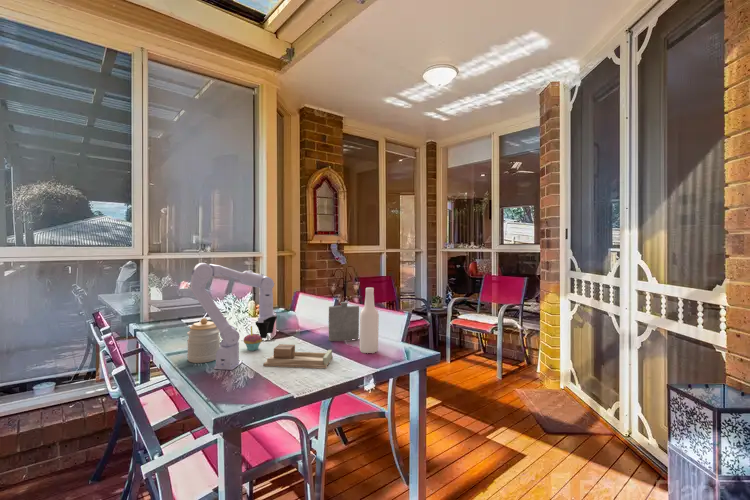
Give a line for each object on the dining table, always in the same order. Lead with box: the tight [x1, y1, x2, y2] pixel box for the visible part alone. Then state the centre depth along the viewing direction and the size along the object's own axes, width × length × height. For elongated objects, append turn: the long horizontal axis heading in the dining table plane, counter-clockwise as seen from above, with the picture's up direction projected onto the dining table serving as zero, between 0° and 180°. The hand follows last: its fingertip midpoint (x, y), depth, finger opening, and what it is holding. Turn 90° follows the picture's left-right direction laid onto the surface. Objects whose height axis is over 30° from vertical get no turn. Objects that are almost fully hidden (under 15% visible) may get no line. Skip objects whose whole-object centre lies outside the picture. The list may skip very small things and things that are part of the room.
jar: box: [186, 317, 221, 364], centre depth 160 cm, size 13×13×18 cm
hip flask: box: [328, 301, 360, 342], centre depth 193 cm, size 16×4×20 cm, turn 103°
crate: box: [273, 343, 296, 359], centre depth 158 cm, size 7×7×5 cm
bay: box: [262, 349, 333, 369], centre depth 157 cm, size 14×26×4 cm, turn 85°
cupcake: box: [243, 325, 263, 352], centre depth 174 cm, size 9×8×12 cm
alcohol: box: [359, 286, 380, 355], centre depth 174 cm, size 9×9×30 cm
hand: (266, 335), depth 159 cm, fingers open, 7 cm apart
